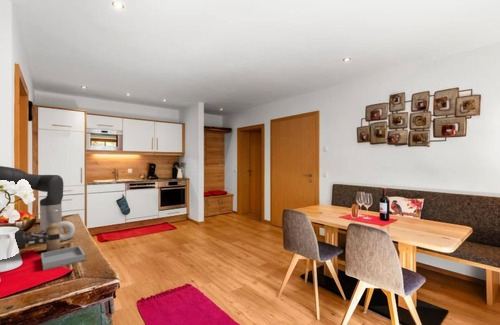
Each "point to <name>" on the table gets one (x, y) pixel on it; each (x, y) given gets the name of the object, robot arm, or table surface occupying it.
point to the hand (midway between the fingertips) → (58, 234)
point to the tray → (62, 257)
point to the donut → (69, 232)
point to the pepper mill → (53, 244)
